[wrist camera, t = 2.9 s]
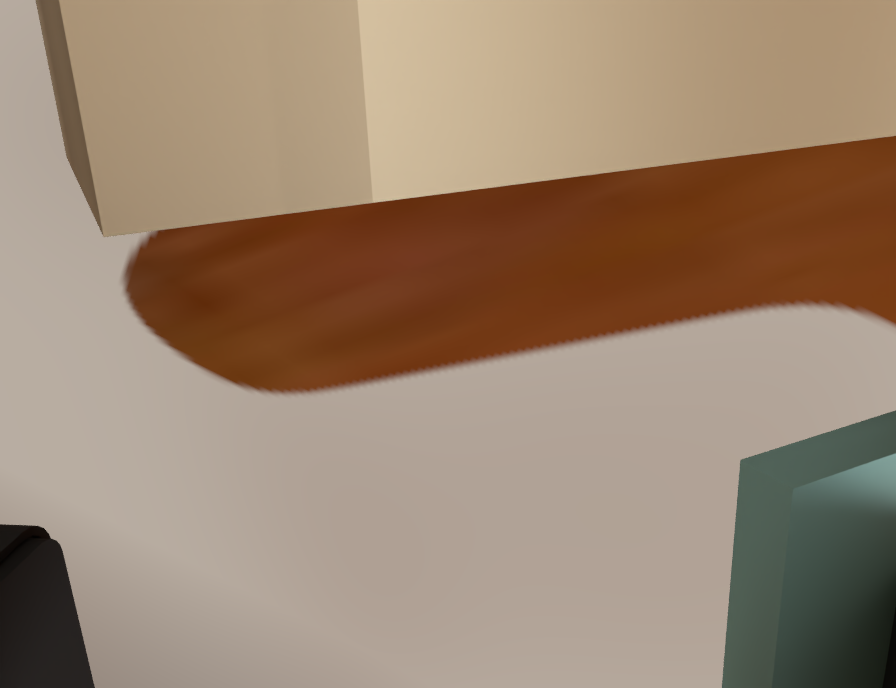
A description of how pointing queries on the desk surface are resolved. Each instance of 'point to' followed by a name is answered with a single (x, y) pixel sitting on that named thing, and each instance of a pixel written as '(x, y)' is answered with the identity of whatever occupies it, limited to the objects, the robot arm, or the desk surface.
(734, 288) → the desk surface
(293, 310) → the desk surface
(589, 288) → the desk surface
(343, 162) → the lever
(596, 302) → the desk surface
